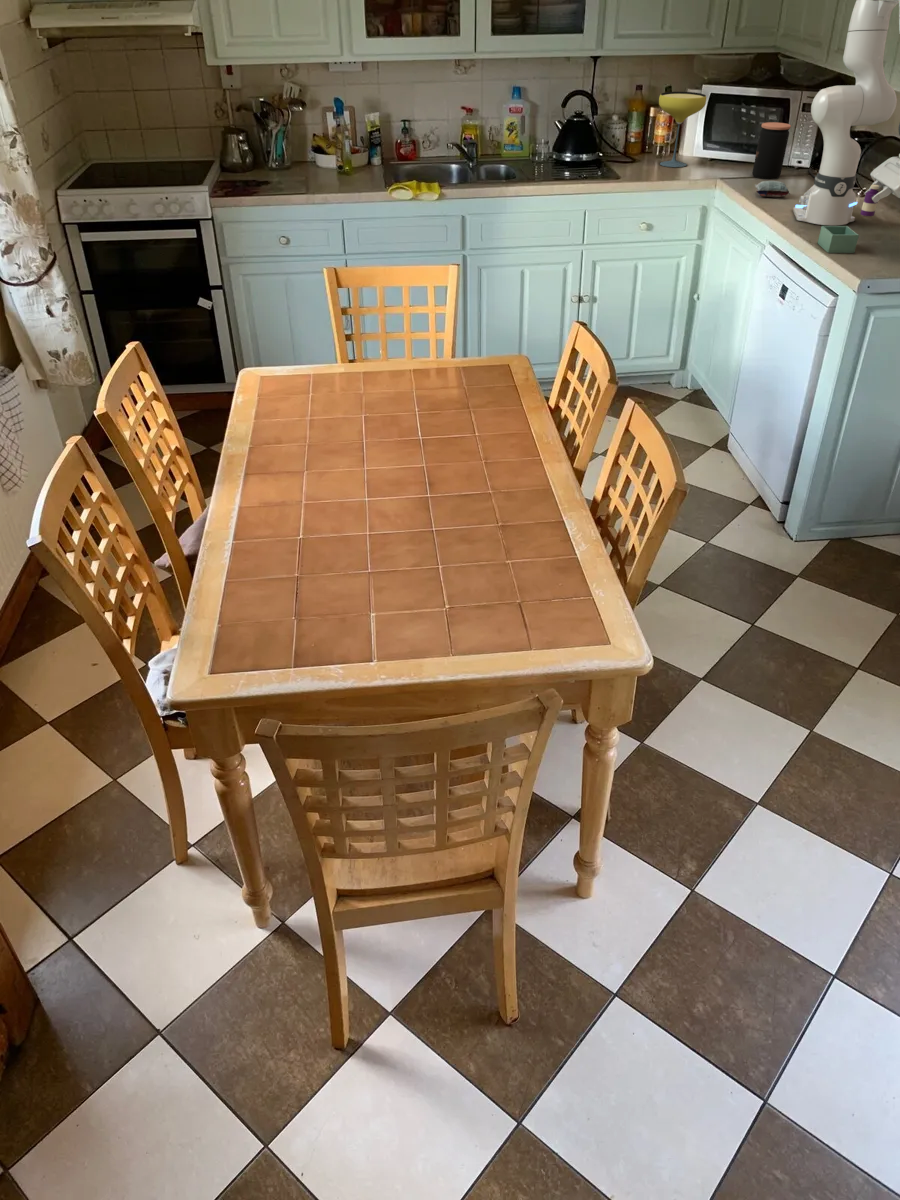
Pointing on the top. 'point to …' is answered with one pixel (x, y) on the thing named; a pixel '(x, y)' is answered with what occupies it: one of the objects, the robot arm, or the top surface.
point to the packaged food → (772, 189)
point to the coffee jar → (771, 150)
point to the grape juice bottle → (869, 202)
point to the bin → (838, 239)
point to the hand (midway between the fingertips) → (869, 198)
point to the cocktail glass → (680, 113)
